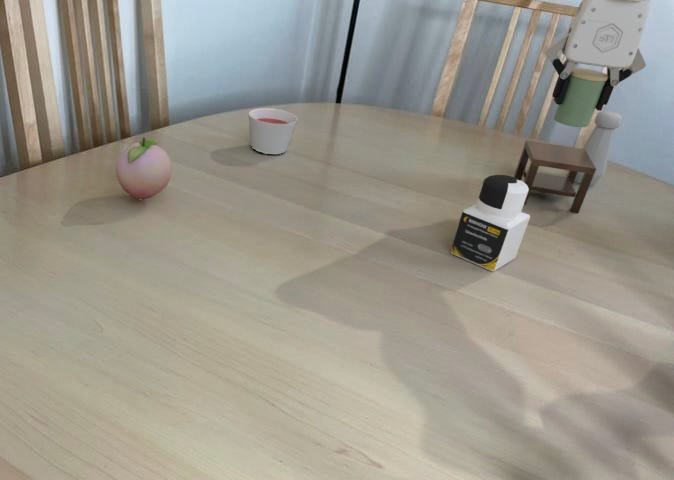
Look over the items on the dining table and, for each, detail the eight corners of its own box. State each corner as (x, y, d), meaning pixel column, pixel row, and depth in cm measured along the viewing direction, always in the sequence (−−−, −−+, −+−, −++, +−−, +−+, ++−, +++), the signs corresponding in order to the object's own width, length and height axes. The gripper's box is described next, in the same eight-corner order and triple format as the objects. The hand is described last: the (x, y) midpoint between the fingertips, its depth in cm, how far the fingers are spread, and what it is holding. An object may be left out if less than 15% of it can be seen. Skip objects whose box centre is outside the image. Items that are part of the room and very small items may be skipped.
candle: (269, 138, 146) (273, 105, 142) (301, 153, 140) (307, 119, 137) (235, 145, 141) (238, 112, 137) (267, 161, 135) (272, 126, 132)
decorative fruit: (163, 216, 113) (166, 152, 107) (110, 208, 113) (111, 144, 108) (174, 192, 120) (178, 131, 115) (125, 185, 121) (126, 124, 115)
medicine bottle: (448, 253, 110) (472, 176, 103) (472, 241, 114) (496, 166, 108) (493, 273, 106) (520, 194, 99) (515, 259, 110) (543, 182, 104)
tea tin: (585, 119, 126) (604, 70, 122) (592, 129, 122) (612, 79, 117) (550, 114, 127) (567, 65, 123) (555, 124, 122) (573, 74, 118)
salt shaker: (570, 184, 139) (596, 114, 131) (565, 173, 143) (590, 105, 136) (603, 189, 138) (631, 119, 130) (596, 178, 142) (624, 110, 135)
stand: (568, 191, 135) (584, 149, 131) (578, 213, 127) (596, 168, 123) (511, 182, 137) (525, 140, 132) (518, 203, 129) (533, 158, 124)
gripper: (566, -19, 111) (526, 103, 121) (689, -3, 108) (637, 120, 119) (558, -25, 117) (520, 91, 127) (674, -11, 114) (626, 107, 125)
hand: (577, 104), depth 123 cm, fingers closed on tea tin, 5 cm apart
